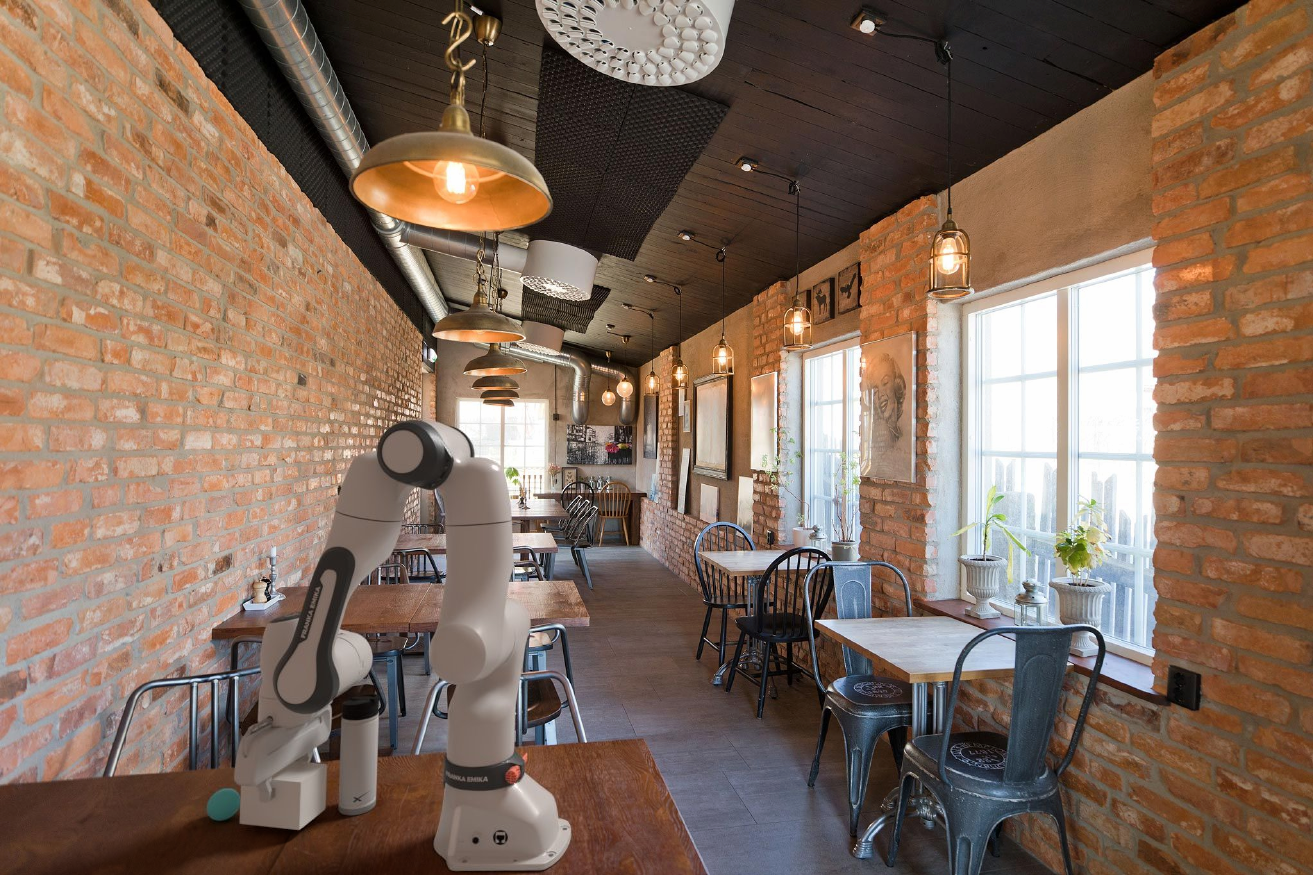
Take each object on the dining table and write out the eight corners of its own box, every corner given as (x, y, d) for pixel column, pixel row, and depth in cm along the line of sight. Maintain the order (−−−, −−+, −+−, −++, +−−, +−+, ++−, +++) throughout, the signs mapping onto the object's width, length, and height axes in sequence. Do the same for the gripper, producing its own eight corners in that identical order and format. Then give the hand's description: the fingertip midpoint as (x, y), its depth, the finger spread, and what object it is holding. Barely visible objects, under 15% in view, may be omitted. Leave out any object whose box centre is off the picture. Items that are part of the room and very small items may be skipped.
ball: (246, 813, 123) (247, 784, 123) (225, 827, 118) (226, 797, 118) (221, 810, 124) (222, 782, 124) (198, 824, 119) (200, 795, 119)
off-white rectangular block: (325, 809, 122) (326, 764, 122) (299, 829, 115) (301, 782, 115) (268, 803, 124) (270, 758, 124) (239, 823, 117) (241, 776, 117)
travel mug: (363, 818, 122) (367, 703, 123) (330, 813, 123) (334, 700, 124) (384, 801, 128) (388, 691, 129) (352, 797, 129) (356, 688, 130)
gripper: (261, 731, 109) (257, 821, 109) (339, 689, 129) (336, 765, 129) (225, 728, 110) (221, 817, 110) (308, 687, 130) (305, 762, 130)
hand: (284, 788), depth 119 cm, fingers closed on off-white rectangular block, 7 cm apart
